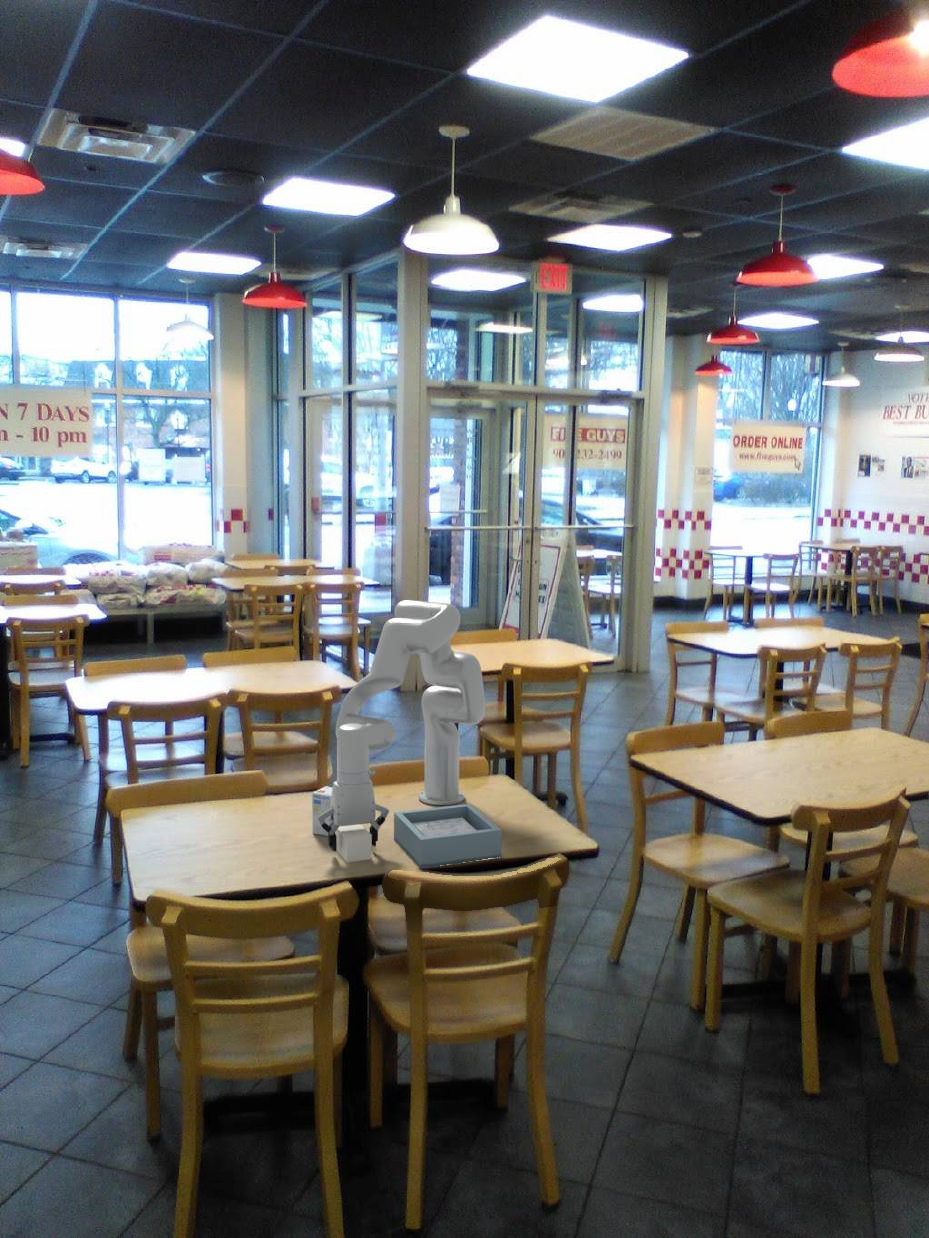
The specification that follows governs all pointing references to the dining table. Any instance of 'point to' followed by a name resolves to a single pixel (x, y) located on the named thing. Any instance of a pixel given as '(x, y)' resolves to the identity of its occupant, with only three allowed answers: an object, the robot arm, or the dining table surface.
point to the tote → (447, 837)
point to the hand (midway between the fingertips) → (353, 846)
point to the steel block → (443, 827)
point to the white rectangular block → (354, 843)
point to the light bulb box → (321, 808)
